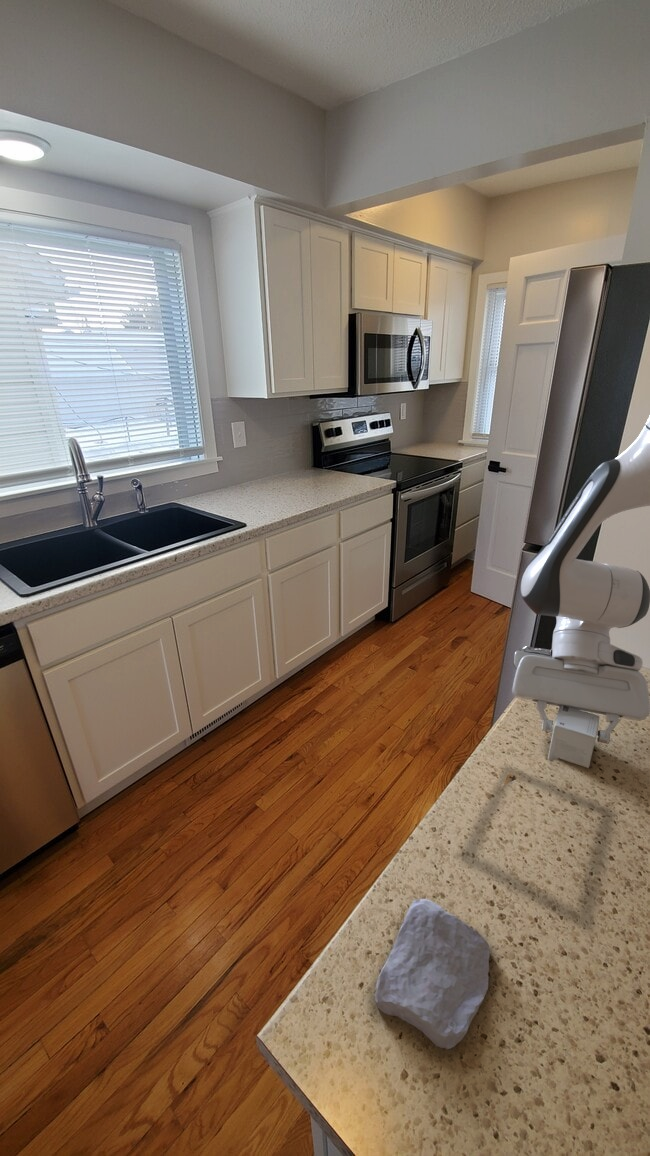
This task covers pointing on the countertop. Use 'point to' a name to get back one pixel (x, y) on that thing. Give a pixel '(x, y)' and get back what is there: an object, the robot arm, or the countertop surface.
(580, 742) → the product carton
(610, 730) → the robot arm
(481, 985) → the stone block
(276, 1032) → the countertop surface
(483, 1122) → the countertop surface
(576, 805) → the countertop surface
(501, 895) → the countertop surface
